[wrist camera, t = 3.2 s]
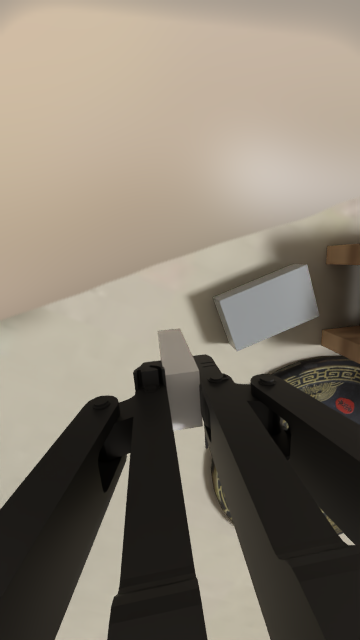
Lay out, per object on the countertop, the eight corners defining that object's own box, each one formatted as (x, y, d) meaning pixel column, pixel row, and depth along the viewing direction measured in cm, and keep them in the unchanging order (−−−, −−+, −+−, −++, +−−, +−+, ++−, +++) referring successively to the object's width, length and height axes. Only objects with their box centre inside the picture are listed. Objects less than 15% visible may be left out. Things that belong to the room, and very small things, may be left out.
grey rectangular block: (228, 342, 31) (236, 351, 28) (211, 296, 29) (219, 301, 26) (303, 310, 31) (319, 316, 28) (291, 263, 30) (307, 264, 27)
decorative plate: (334, 310, 30) (457, 441, 37) (323, 307, 31) (442, 432, 39) (165, 487, 32) (310, 575, 40) (164, 475, 34) (303, 561, 42)
